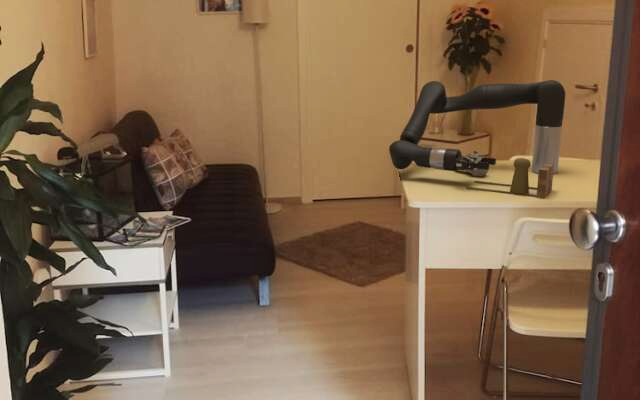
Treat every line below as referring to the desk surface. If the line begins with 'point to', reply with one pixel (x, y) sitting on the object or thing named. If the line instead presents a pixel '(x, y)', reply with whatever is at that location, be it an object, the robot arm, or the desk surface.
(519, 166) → the cork
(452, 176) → the desk surface
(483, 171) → the ceramic sculpture
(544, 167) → the lane
